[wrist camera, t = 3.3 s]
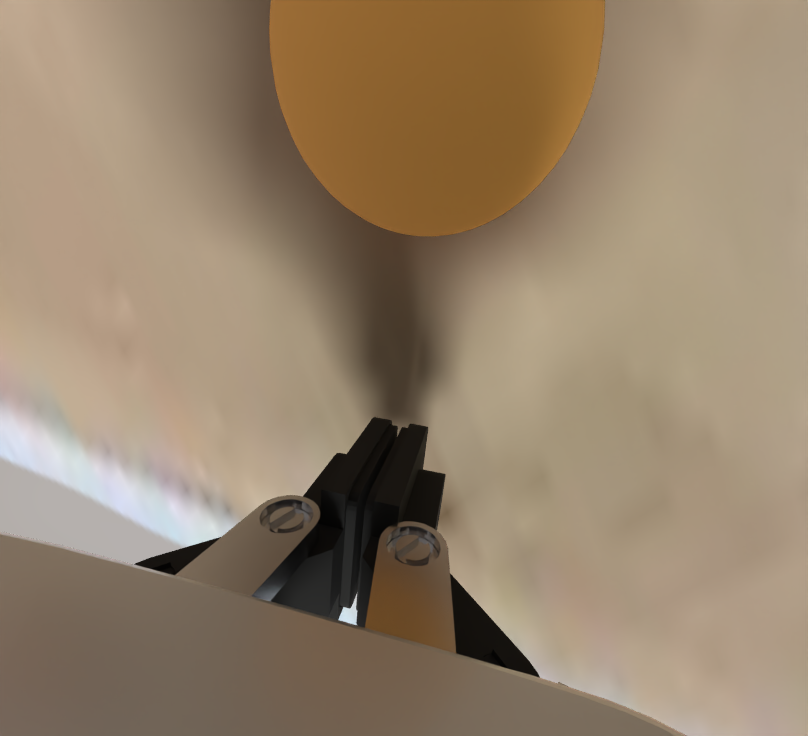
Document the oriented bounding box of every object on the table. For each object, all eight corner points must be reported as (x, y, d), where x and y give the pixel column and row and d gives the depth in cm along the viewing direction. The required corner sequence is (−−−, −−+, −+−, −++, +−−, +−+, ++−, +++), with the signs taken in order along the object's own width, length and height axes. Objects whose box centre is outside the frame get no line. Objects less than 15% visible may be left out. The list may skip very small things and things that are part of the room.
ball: (347, -11, 10) (164, -370, 4) (591, -14, 9) (772, -487, 3) (336, 232, 12) (194, 205, 6) (539, 253, 11) (598, 243, 5)
